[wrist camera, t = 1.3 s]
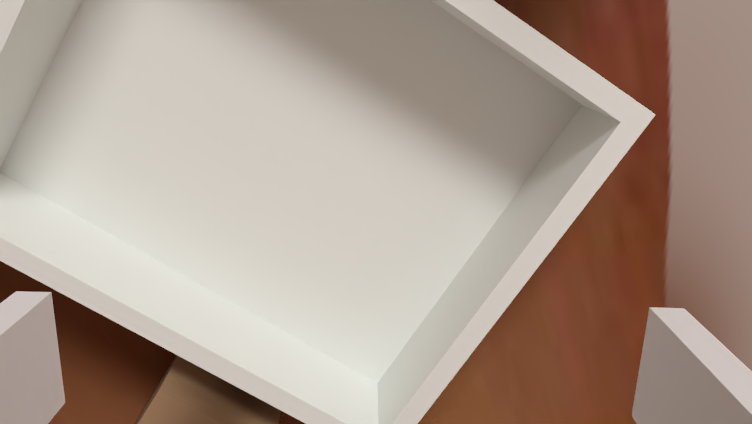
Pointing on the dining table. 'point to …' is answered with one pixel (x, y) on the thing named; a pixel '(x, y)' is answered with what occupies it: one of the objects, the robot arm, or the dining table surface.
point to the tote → (298, 181)
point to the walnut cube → (202, 400)
